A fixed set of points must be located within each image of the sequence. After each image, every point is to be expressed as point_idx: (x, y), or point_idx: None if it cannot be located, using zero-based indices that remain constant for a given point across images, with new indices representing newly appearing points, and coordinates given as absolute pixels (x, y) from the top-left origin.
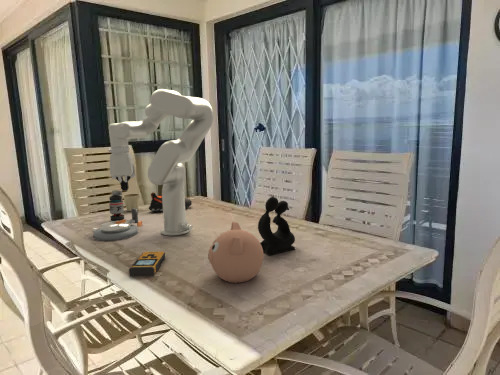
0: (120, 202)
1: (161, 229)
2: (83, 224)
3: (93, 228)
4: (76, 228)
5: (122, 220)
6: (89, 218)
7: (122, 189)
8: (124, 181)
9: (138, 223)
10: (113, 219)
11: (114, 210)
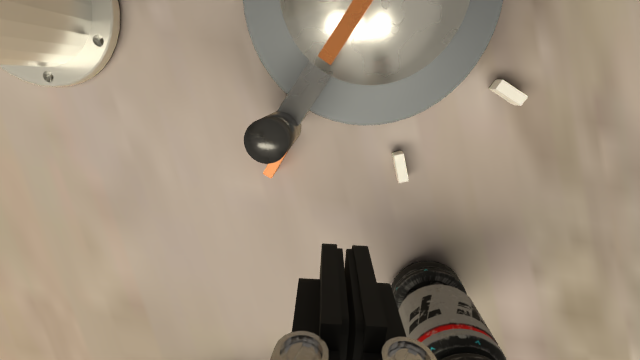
0: None
1: (108, 4)
2: (596, 241)
3: (523, 93)
4: (625, 166)
5: (335, 33)
6: (581, 349)
7: (364, 254)
8: (325, 345)
9: None
10: (442, 267)
11: (448, 297)
